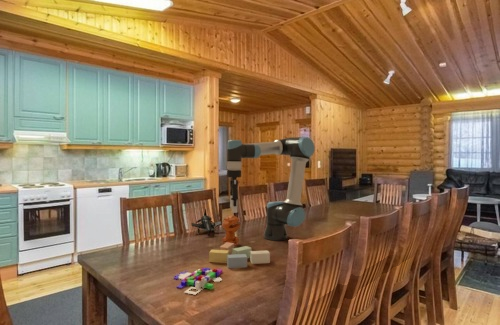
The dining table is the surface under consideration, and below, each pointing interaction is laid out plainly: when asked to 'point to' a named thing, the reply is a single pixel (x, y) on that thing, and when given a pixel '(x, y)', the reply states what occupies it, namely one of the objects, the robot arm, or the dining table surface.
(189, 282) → the building block set
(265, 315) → the dining table surface
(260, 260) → the cream brick
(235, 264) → the slate brick
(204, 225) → the airplane toy
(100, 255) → the dining table surface
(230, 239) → the orange lumpy upright piece
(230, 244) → the terracotta brick
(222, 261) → the ochre brick
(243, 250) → the sage brick
